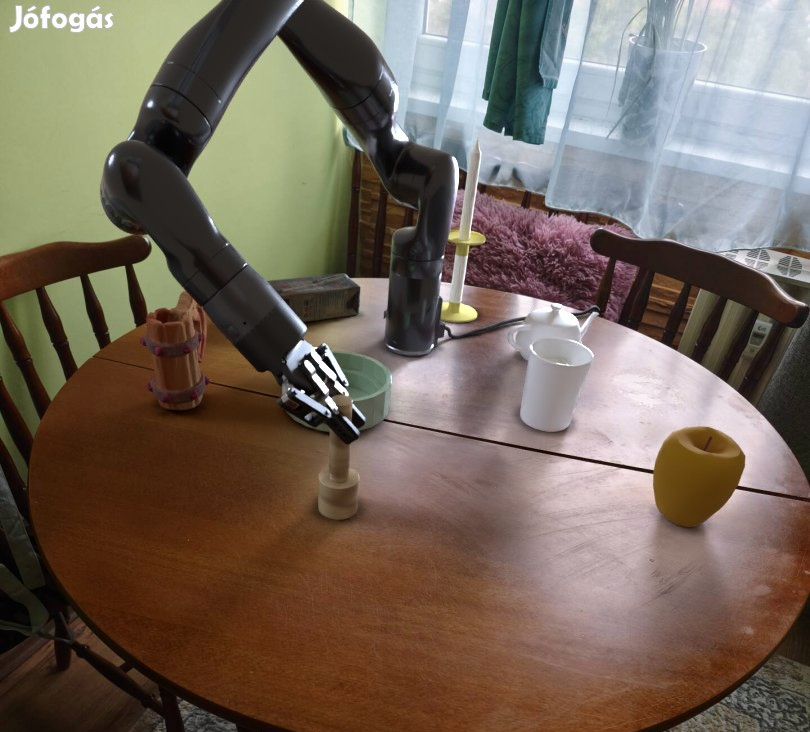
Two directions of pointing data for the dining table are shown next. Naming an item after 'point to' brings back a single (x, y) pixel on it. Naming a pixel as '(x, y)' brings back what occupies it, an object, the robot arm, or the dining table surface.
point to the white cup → (554, 382)
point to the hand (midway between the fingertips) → (357, 432)
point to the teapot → (547, 328)
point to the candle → (464, 246)
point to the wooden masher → (338, 473)
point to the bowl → (362, 387)
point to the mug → (177, 353)
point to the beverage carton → (319, 296)
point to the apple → (696, 474)
